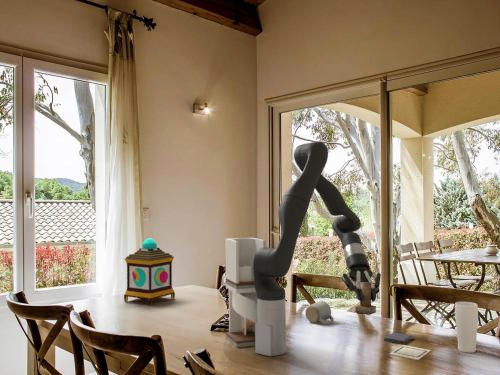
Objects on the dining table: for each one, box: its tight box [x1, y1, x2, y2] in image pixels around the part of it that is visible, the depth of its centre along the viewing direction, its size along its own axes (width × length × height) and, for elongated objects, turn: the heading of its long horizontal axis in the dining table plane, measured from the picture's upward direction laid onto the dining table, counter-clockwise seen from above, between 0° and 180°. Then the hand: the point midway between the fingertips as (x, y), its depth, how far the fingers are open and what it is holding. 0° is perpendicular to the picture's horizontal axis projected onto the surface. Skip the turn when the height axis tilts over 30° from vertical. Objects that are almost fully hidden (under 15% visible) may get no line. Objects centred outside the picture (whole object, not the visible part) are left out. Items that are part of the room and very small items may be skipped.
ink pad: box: [383, 332, 415, 346], centre depth 171 cm, size 9×7×1 cm
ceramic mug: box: [304, 300, 334, 326], centre depth 195 cm, size 11×8×8 cm
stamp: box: [354, 282, 377, 316], centre depth 165 cm, size 5×5×10 cm
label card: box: [389, 344, 432, 361], centre depth 157 cm, size 11×9×1 cm
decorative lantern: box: [123, 237, 176, 306], centre depth 238 cm, size 20×20×30 cm
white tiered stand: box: [224, 237, 267, 348], centre depth 171 cm, size 11×11×35 cm
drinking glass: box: [454, 301, 479, 354], centre depth 158 cm, size 7×7×15 cm
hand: (367, 300), depth 163 cm, fingers closed on stamp, 3 cm apart
